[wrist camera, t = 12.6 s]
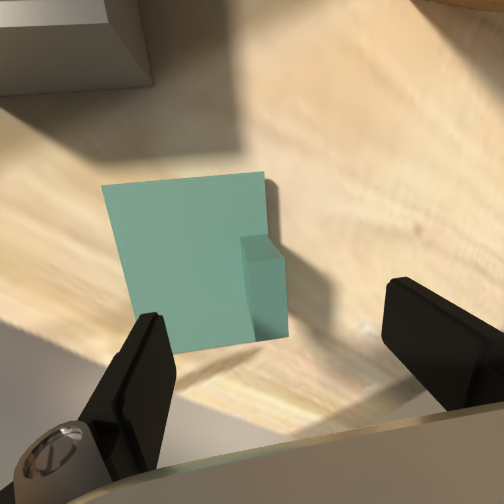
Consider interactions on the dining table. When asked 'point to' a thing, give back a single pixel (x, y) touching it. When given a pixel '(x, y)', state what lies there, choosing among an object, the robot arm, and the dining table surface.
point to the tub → (71, 46)
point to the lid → (201, 258)
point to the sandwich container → (476, 4)
